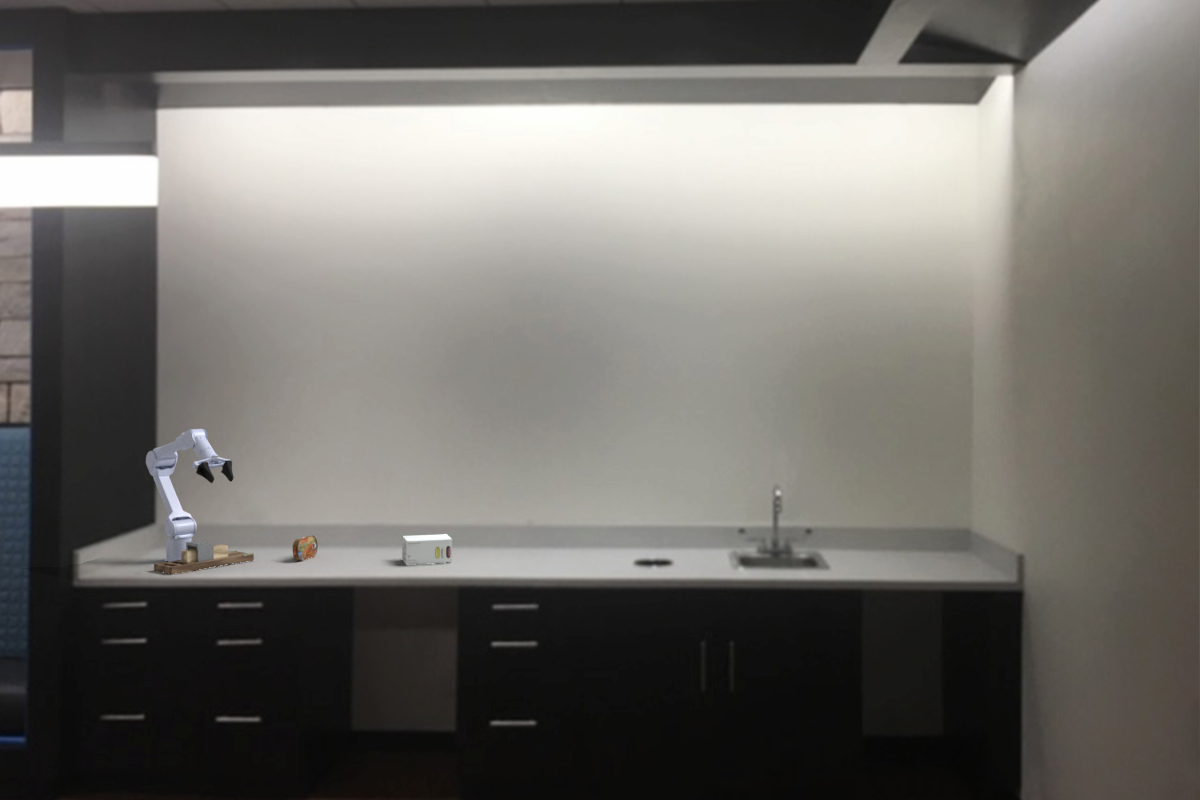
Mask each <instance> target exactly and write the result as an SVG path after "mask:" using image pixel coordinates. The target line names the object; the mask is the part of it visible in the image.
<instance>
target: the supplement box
mask: <svg viewBox="0 0 1200 800" xmlns="http://www.w3.org/2000/svg"><path fill="white" fill-rule="evenodd" d="M401 542H402V544H401V545H402V547H401V548H402V550H401V551H402V552H401V553H402V554H401V556H402V557H401V558H402V562H404V565H405V564H406V565H412V566H416V565H415V564H427V563H444V562H452V563H453V538H451V536H450V535H448V533H443V534H441V533H440V534H420V535H419V534H418V535H402V540H401ZM406 565H405V566H406Z"/></svg>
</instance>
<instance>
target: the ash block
mask: <svg viewBox="0 0 1200 800" xmlns="http://www.w3.org/2000/svg"><path fill="white" fill-rule="evenodd" d="M228 551H229V546H228V545H227V544H216V545H214V559H215V558H221V557H227V556H228ZM196 561H197V548H196V549H189V550H182V551H181V562H185V563H190V562H196Z"/></svg>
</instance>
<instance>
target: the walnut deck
mask: <svg viewBox="0 0 1200 800" xmlns="http://www.w3.org/2000/svg"><path fill="white" fill-rule="evenodd" d="M254 556H255V555H254V553H253V552H252V553H251V552H250V553H248V552H241V551H238V550H230V551H229V550H228V556H227V557H221V558H215V559H214V560H209V561H203V562H197V561H196V562H190V563H185V562H181V560H176V561H170V562H167V561H164V562H159V563H157V562H156V563H154V564H153V572H157V571H159V572H158V573H161V572H164V573H163V574H166V573H169V574H168V575H171V574H174V575H176V574H175V573H180V574H183V573H182V572H186V573H189V572H188V571H192V572H195V571H194V570H198V571H200V570H199V569H204V568H209V567H214V566H220V565H225V564H232V563H239V564H241V563H240V562H245V563H247V562H246V561H251V562H254V561H255V560H254V559H255V557H254ZM253 560H254V561H253ZM204 570H205V569H204Z"/></svg>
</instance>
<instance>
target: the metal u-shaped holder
mask: <svg viewBox="0 0 1200 800" xmlns="http://www.w3.org/2000/svg"><path fill="white" fill-rule="evenodd" d="M214 546H215V545H214V541H212V540H211V541H210V540H204V539H198V540H192V541H190V542H186V550H189V549H196V548H197V562H203V561H209V560H214Z"/></svg>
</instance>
